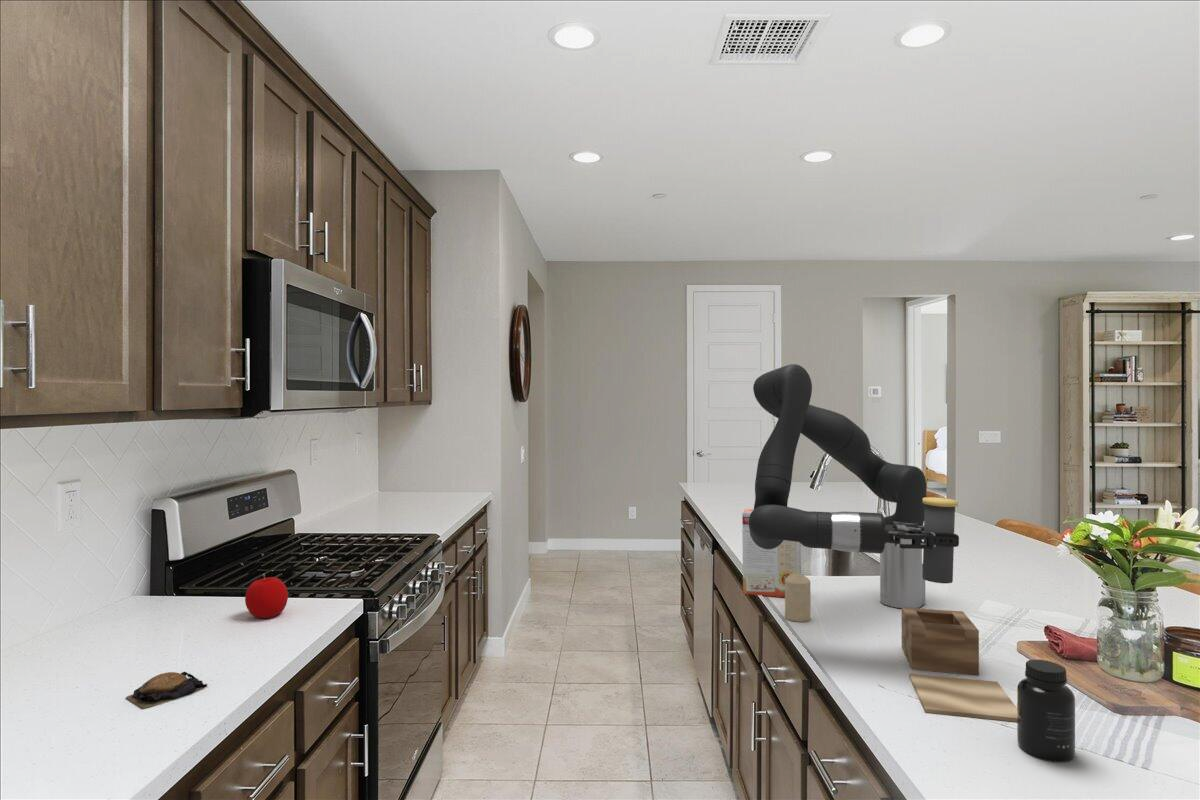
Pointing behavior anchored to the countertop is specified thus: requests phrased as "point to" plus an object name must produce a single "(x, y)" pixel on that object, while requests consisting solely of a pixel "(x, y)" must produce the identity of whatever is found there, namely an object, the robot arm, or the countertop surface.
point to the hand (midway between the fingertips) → (954, 537)
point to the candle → (797, 598)
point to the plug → (941, 557)
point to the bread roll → (165, 689)
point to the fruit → (266, 597)
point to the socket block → (940, 641)
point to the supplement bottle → (1046, 712)
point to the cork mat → (963, 697)
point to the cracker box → (767, 564)
